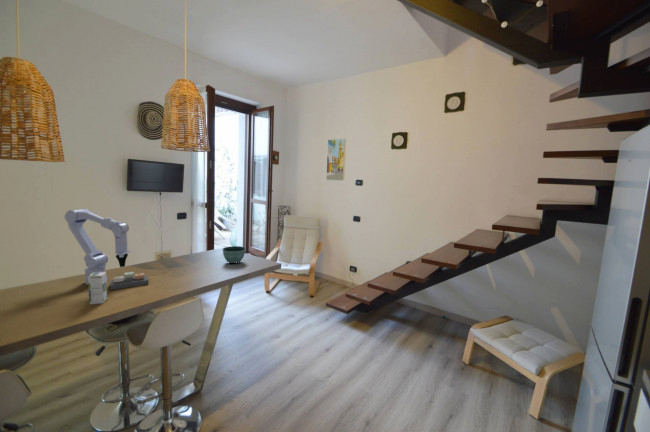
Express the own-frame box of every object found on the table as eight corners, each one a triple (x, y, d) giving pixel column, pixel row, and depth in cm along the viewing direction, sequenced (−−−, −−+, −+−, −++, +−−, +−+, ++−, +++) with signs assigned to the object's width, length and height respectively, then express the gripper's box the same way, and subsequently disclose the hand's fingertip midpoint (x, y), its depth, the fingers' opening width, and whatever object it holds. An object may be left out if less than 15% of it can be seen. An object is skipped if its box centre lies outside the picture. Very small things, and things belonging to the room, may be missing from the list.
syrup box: (93, 300, 142) (91, 272, 140) (108, 298, 144) (106, 271, 142) (89, 304, 137) (86, 276, 135) (103, 303, 139) (101, 275, 137)
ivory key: (114, 287, 158) (113, 279, 158) (114, 284, 162) (113, 277, 161) (123, 285, 161) (123, 278, 160) (123, 283, 164) (123, 275, 164)
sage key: (124, 282, 161) (124, 275, 160) (124, 280, 164) (124, 272, 164) (134, 281, 163) (133, 273, 163) (133, 279, 167) (133, 271, 166)
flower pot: (247, 259, 221) (247, 246, 219) (242, 266, 205) (242, 251, 203) (226, 259, 220) (226, 246, 218) (220, 265, 204) (219, 251, 202)
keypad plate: (110, 290, 155) (109, 285, 155) (110, 284, 163) (110, 280, 163) (148, 284, 165) (148, 279, 165) (147, 278, 173) (147, 275, 173)
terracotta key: (135, 283, 164) (135, 276, 163) (135, 281, 167) (134, 274, 167) (144, 282, 166) (144, 275, 166) (144, 280, 170) (143, 272, 169)
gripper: (129, 245, 160) (130, 269, 162) (129, 240, 172) (130, 262, 174) (114, 247, 156) (115, 270, 158) (115, 241, 168) (116, 264, 170)
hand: (122, 266), depth 165 cm, fingers closed
